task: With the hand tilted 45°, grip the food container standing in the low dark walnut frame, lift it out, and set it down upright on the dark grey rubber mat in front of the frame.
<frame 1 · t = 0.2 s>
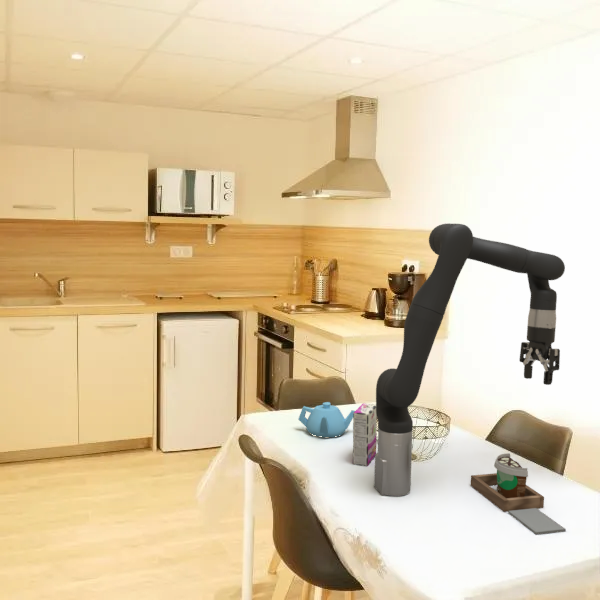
hand: (537, 381, 188), 28 cm above the table, tool pointing down, fingers open, 8 cm apart
walnut frame: (505, 496, 177), on the table
teapot: (326, 433, 229), on the table
food container: (505, 497, 177), resting in walnut frame
candy bar box: (364, 460, 203), on the table
beverage cup: (392, 444, 218), on the table
rubber mat: (535, 522, 161), on the table
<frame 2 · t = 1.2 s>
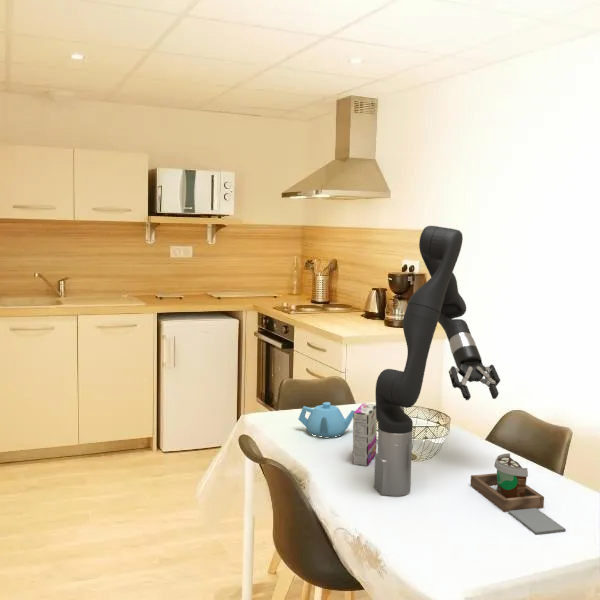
hand: (482, 398, 188), 23 cm above the table, tool tilted 45°, fingers open, 8 cm apart
nothing on the table moved.
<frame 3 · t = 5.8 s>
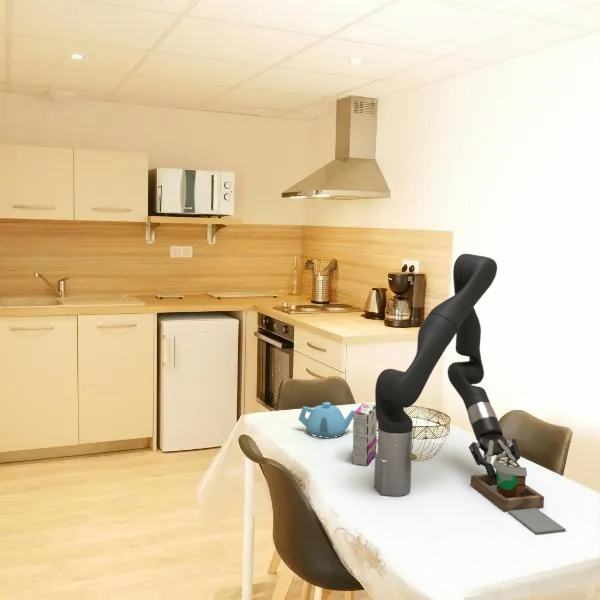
hand: (505, 476, 178), 5 cm above the table, tool tilted 45°, fingers open, 6 cm apart
food container: (505, 497, 177), resting in walnut frame, touching gripper
everything else where it was.
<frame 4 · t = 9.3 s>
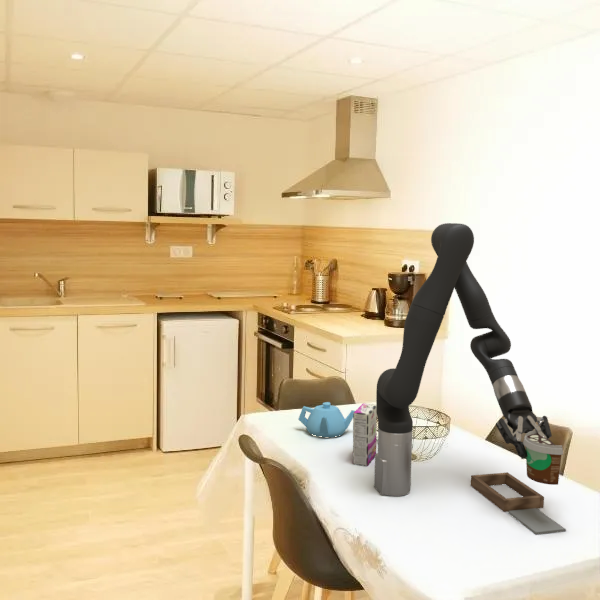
hand: (536, 456, 161), 16 cm above the table, tool tilted 45°, fingers closed on food container, 5 cm apart
food container: (536, 478, 160), point 11 cm above the table, touching gripper
everything else where it was.
when the fingers open (7 cm above the table, at t = 12.5 s): food container drops 1 cm, resting on rubber mat.
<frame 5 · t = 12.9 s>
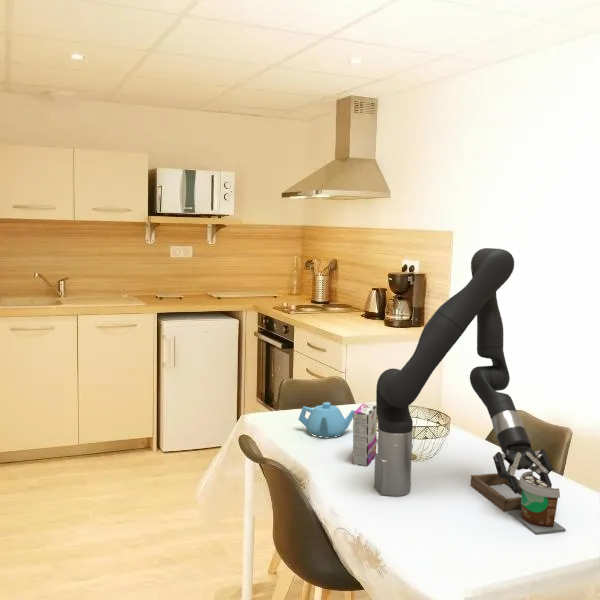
hand: (533, 491, 162), 7 cm above the table, tool tilted 45°, fingers open, 8 cm apart
food container: (530, 520, 161), point 1 cm above the table, touching rubber mat
everything else where it was.
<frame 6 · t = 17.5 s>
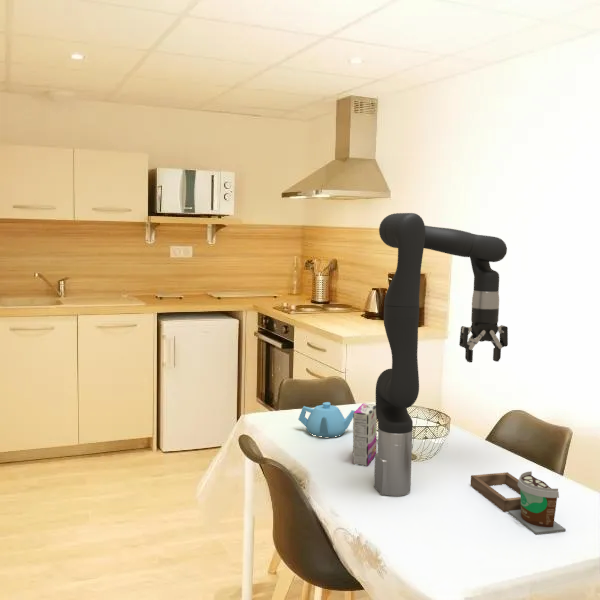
hand: (482, 361, 191), 33 cm above the table, tool pointing down, fingers open, 8 cm apart
nothing on the table moved.
at the end: food container inside the target area (1.3 cm from its centre), resting on rubber mat; food container tilted 0°; the gripper is holding nothing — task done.
